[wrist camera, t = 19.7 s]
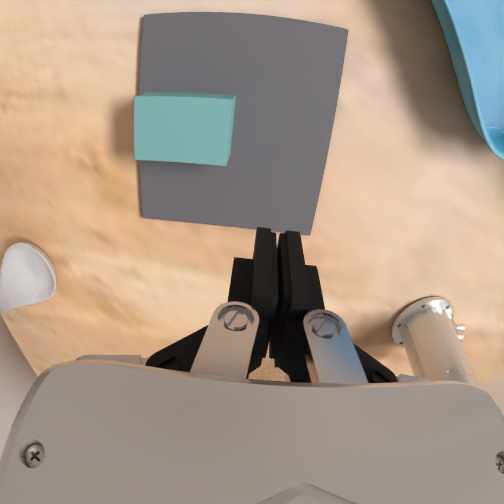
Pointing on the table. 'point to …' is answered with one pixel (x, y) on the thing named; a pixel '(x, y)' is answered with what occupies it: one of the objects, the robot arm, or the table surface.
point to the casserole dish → (478, 61)
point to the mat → (246, 115)
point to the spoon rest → (25, 276)
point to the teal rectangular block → (183, 127)
